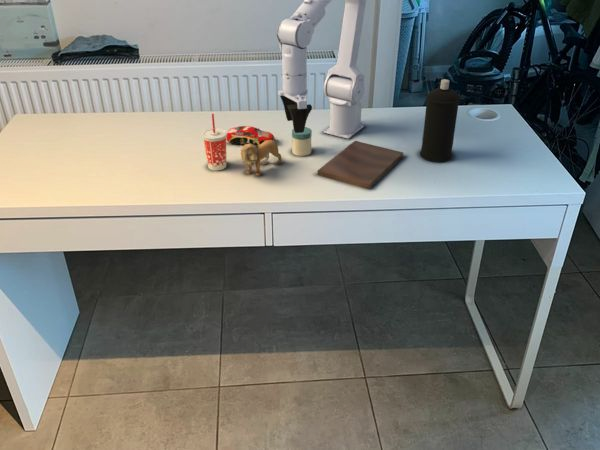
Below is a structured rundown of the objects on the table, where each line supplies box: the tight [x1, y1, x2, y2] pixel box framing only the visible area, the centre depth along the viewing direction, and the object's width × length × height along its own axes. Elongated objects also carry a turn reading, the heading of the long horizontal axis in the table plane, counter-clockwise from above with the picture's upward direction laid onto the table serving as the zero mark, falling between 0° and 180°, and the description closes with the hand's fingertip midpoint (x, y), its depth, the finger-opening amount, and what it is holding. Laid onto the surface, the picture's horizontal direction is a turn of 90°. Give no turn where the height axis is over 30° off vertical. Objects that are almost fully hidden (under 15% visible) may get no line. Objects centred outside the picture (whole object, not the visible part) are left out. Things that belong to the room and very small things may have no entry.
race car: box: [226, 125, 276, 146], centre depth 166 cm, size 13×5×4 cm, turn 76°
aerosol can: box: [419, 78, 461, 163], centre depth 154 cm, size 8×8×20 cm
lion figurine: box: [240, 140, 282, 177], centre depth 151 cm, size 15×5×9 cm, turn 150°
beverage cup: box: [201, 113, 228, 171], centre depth 151 cm, size 6×6×14 cm
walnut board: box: [317, 140, 404, 190], centre depth 155 cm, size 20×14×1 cm
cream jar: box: [291, 126, 313, 157], centre depth 160 cm, size 5×5×6 cm
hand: (295, 126), depth 152 cm, fingers open, 7 cm apart
